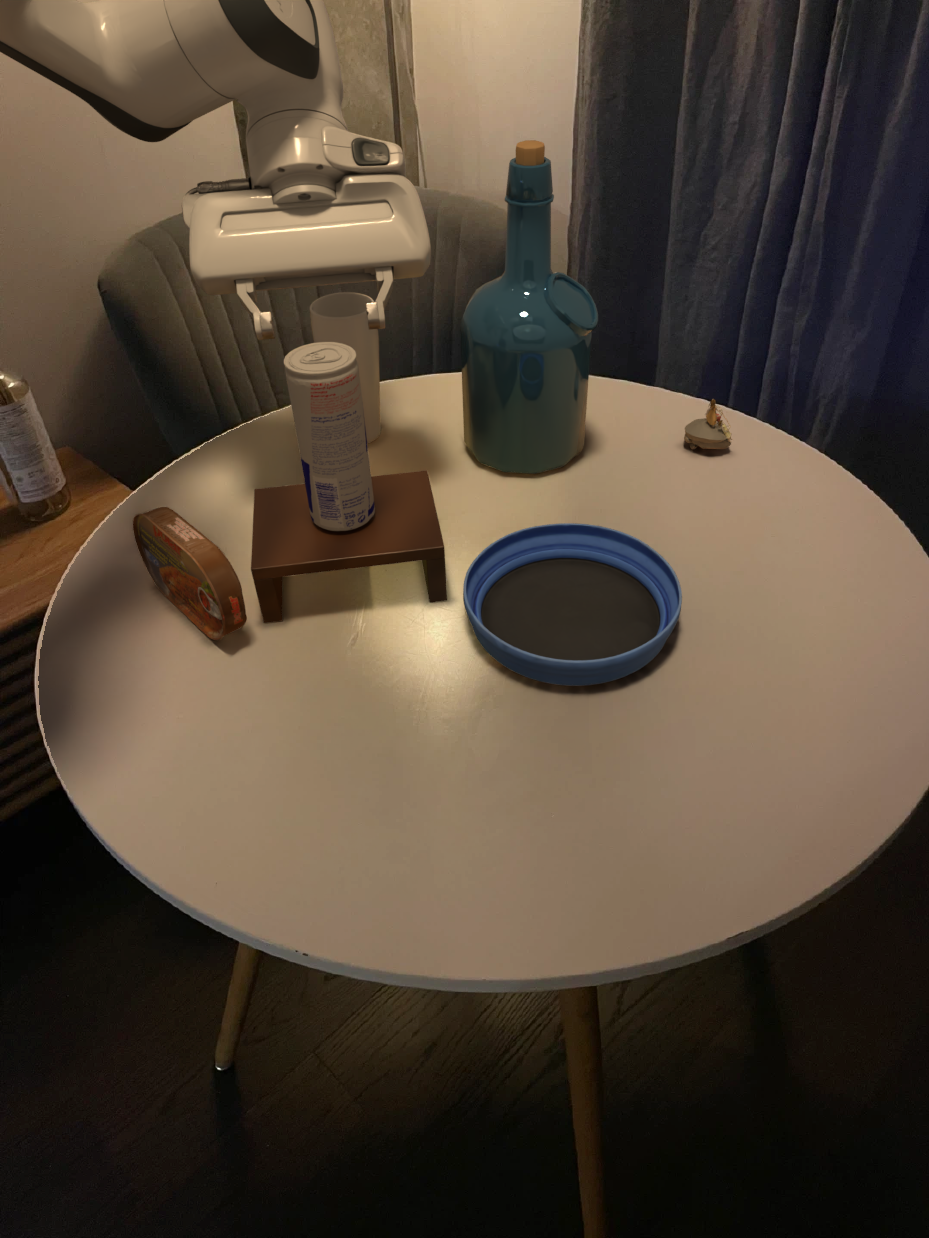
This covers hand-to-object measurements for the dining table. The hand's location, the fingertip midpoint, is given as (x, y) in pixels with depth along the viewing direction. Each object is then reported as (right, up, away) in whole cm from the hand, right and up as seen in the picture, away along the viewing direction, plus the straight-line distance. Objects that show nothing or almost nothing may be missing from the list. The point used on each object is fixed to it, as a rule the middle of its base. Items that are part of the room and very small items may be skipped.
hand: (321, 332), depth 75 cm
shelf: (+2, -20, +6) cm, 21 cm away
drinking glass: (0, -4, +24) cm, 25 cm away
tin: (-11, -24, +3) cm, 26 cm away
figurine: (+38, -6, +20) cm, 44 cm away
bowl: (+21, -24, +1) cm, 32 cm away
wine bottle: (+19, -6, +22) cm, 29 cm away
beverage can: (+2, -16, +2) cm, 16 cm away
